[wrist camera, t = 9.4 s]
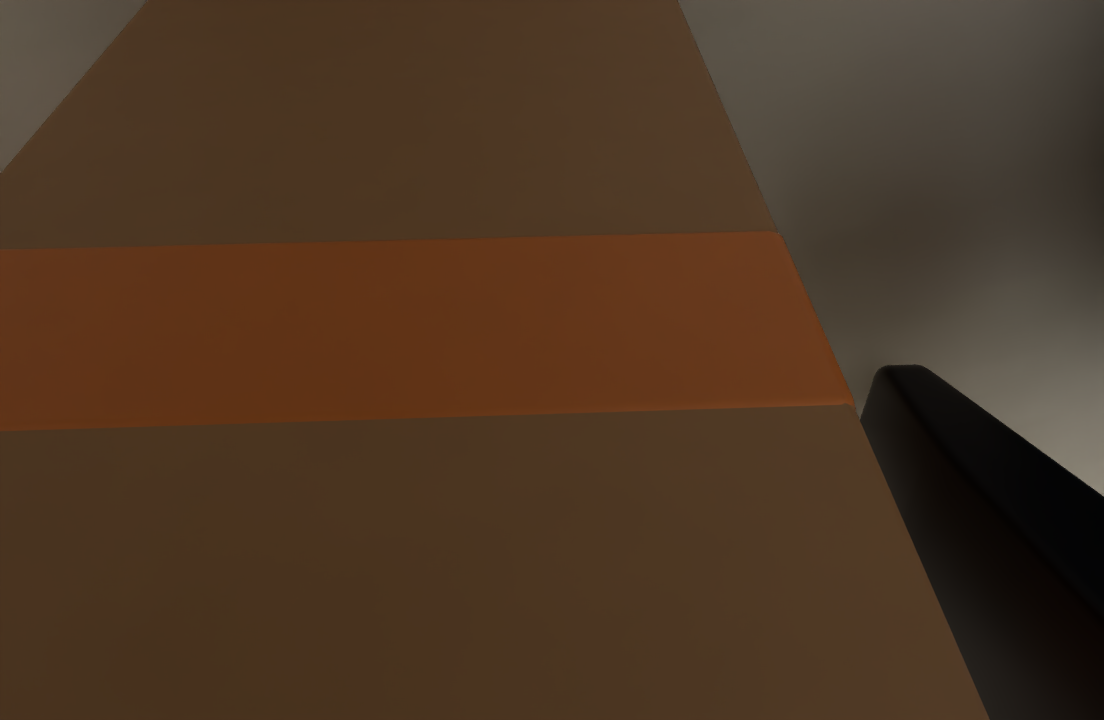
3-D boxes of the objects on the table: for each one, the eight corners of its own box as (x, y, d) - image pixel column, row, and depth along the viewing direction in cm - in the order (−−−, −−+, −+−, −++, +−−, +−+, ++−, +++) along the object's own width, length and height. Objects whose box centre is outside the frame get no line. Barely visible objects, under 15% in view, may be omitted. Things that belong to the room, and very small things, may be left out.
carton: (289, 438, 13) (50, 1408, 6) (159, -24, 9) (-1174, 1503, 2) (630, 427, 13) (778, 1358, 6) (669, -32, 9) (1280, 1333, 2)
